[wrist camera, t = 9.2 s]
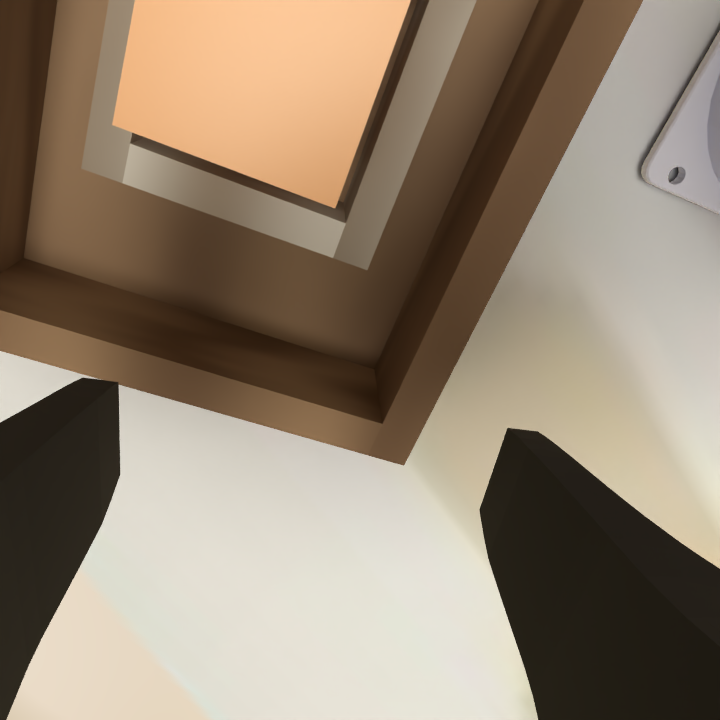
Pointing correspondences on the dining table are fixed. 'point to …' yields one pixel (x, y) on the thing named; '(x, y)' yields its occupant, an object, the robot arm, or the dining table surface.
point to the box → (285, 219)
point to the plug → (259, 83)
